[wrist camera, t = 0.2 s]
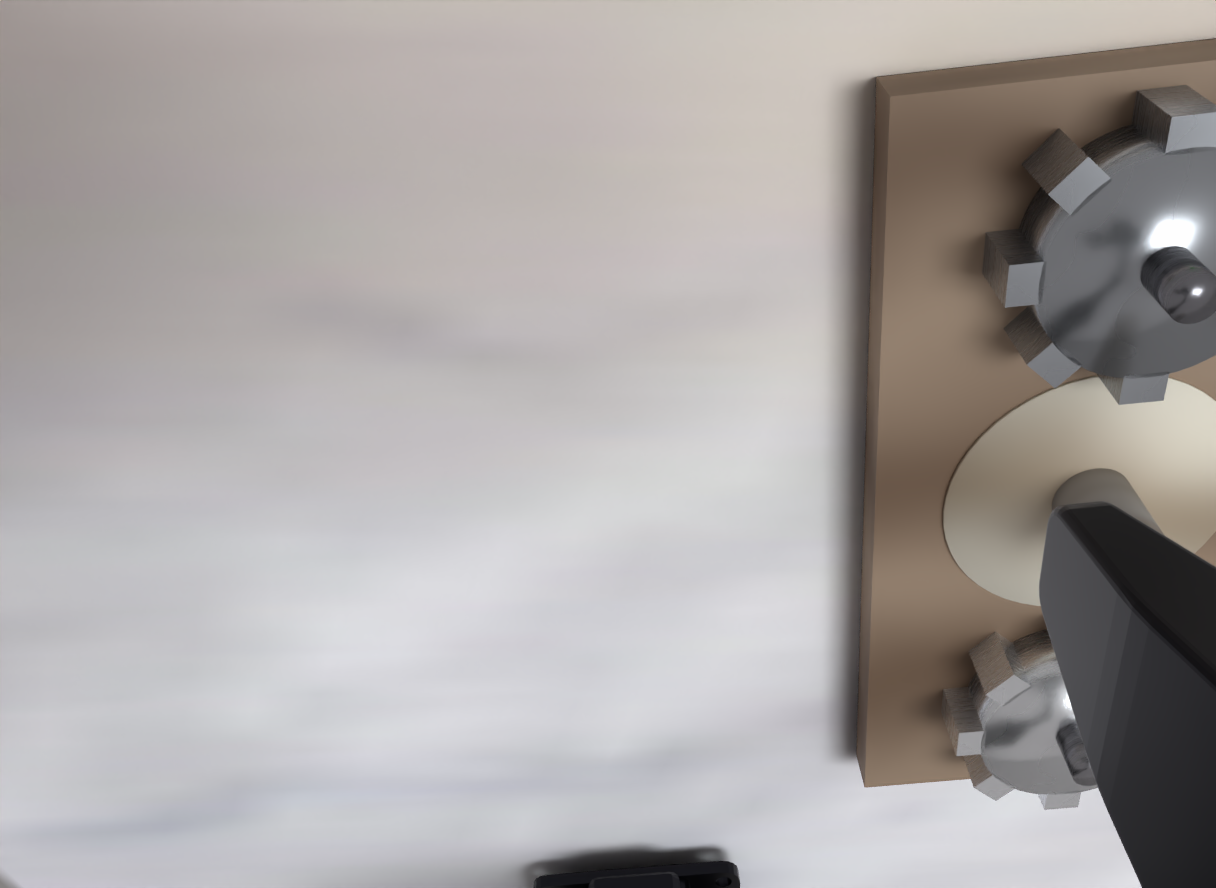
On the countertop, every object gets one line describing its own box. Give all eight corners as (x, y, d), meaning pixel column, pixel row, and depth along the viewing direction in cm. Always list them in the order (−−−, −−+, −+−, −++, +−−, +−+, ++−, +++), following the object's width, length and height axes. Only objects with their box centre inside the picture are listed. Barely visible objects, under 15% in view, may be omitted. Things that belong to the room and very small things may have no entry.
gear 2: (1254, 350, 24) (1323, 420, 22) (971, 378, 24) (1011, 451, 22) (1327, 69, 20) (1418, 117, 18) (997, 105, 21) (1046, 157, 18)
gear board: (1200, 725, 32) (1289, 878, 28) (856, 754, 33) (894, 908, 29) (1406, 17, 21) (1605, 100, 17) (876, 77, 22) (945, 172, 17)
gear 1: (1150, 754, 31) (1193, 837, 29) (935, 772, 32) (961, 855, 29) (1190, 598, 28) (1242, 677, 26) (949, 619, 28) (980, 701, 26)
